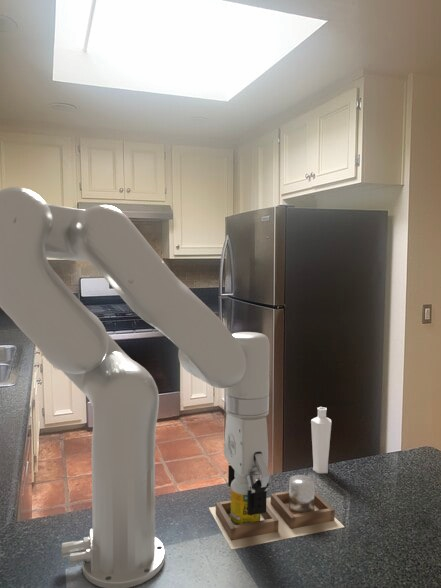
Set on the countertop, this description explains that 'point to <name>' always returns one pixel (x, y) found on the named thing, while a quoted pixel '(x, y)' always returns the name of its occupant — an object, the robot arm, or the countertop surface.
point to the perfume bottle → (321, 440)
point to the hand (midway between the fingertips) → (246, 498)
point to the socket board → (275, 522)
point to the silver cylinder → (301, 494)
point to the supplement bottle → (241, 500)
